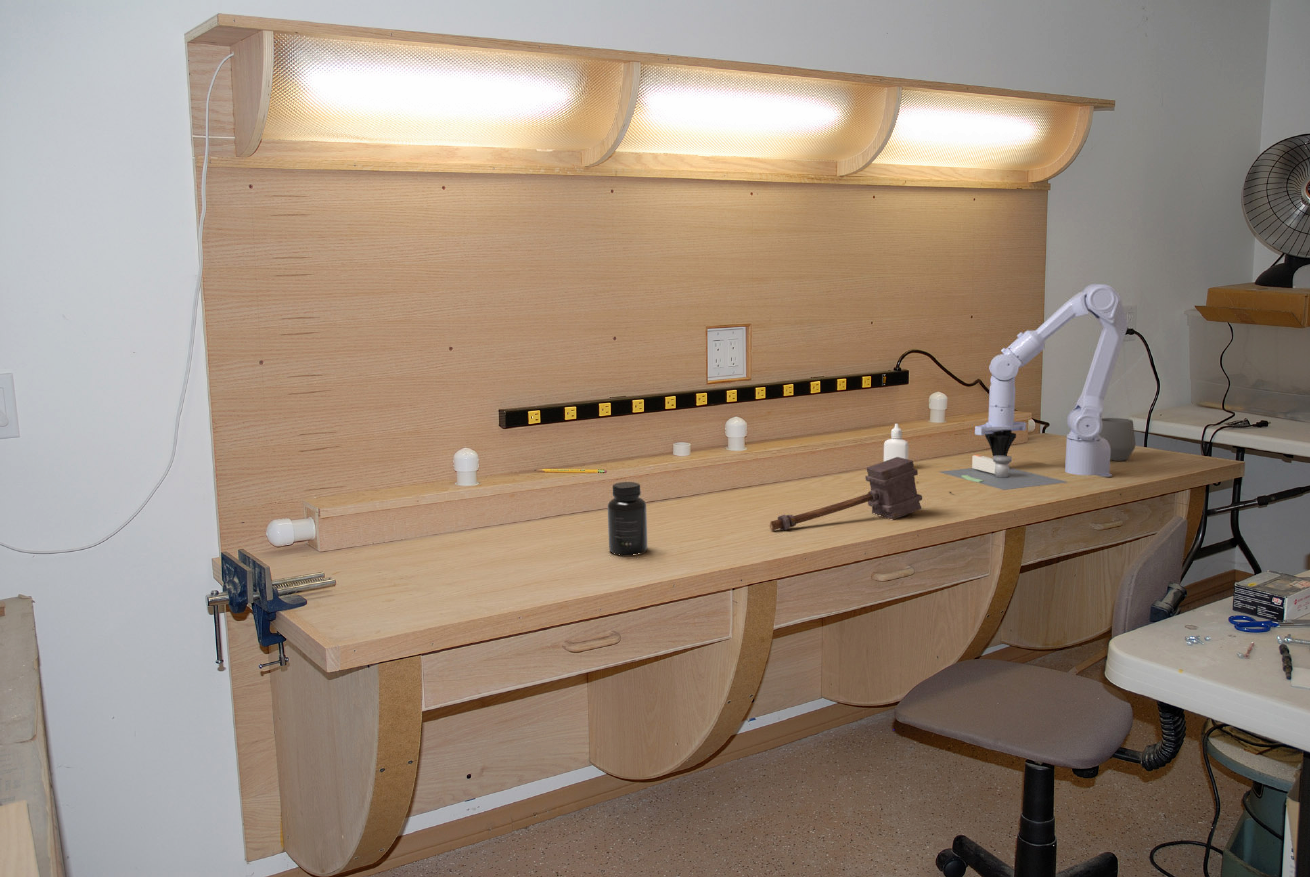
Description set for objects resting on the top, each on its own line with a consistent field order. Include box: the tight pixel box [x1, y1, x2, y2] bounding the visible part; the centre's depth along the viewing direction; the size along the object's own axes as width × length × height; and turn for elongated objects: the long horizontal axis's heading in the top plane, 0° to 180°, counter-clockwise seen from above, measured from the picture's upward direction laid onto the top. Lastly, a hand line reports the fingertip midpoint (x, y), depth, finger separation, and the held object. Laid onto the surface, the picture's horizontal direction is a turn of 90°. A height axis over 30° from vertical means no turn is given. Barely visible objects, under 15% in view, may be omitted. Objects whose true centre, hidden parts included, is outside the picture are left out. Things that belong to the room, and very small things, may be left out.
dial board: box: [939, 467, 1068, 491], centre depth 226 cm, size 18×22×1 cm
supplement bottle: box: [607, 481, 648, 556], centre depth 173 cm, size 7×7×12 cm
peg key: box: [971, 453, 1013, 478], centre depth 229 cm, size 11×4×4 cm, turn 23°
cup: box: [1099, 417, 1136, 462], centre depth 249 cm, size 10×9×10 cm
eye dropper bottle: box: [883, 423, 909, 462], centre depth 236 cm, size 4×6×12 cm
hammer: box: [768, 457, 923, 531], centre depth 192 cm, size 7×33×10 cm, turn 114°
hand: (999, 462), depth 235 cm, fingers closed
